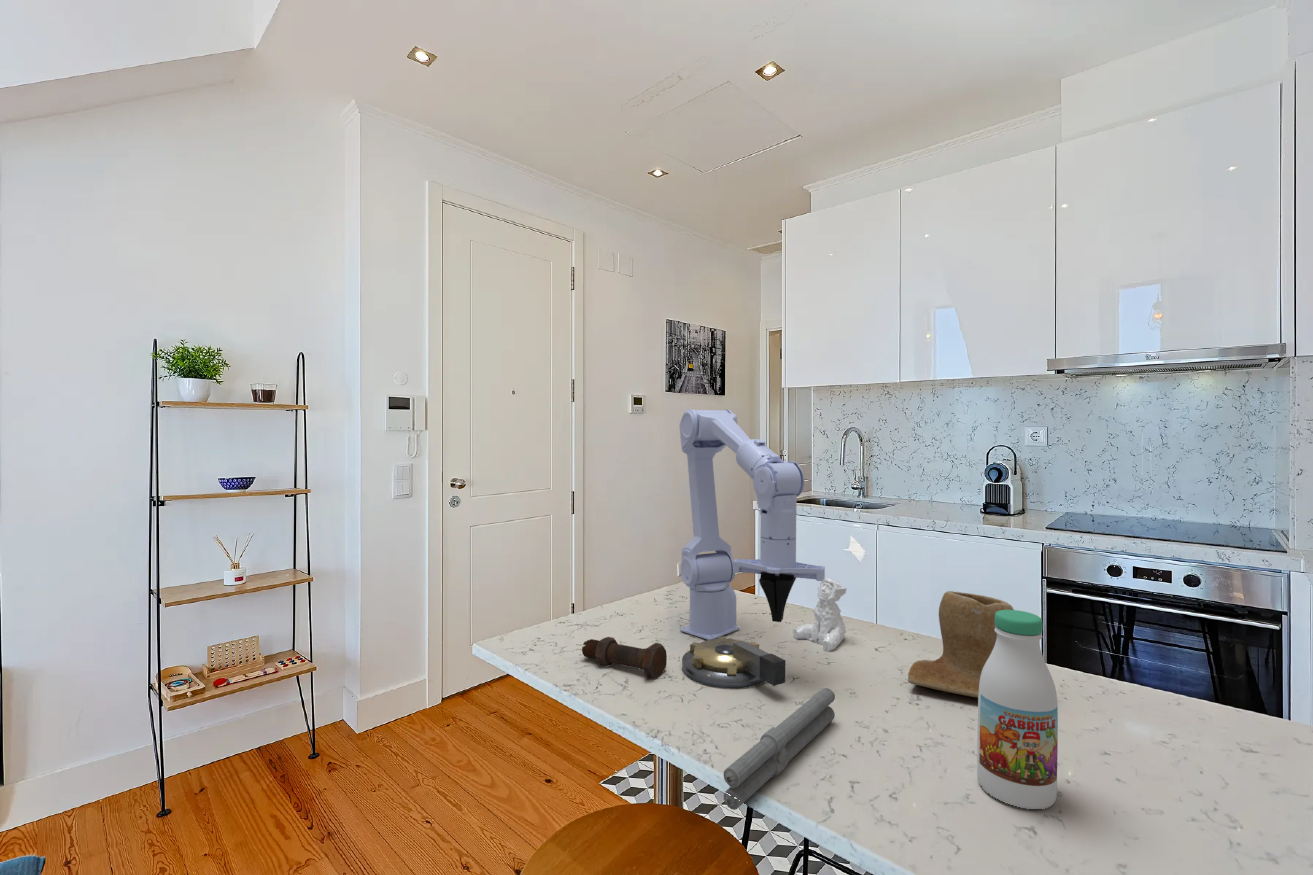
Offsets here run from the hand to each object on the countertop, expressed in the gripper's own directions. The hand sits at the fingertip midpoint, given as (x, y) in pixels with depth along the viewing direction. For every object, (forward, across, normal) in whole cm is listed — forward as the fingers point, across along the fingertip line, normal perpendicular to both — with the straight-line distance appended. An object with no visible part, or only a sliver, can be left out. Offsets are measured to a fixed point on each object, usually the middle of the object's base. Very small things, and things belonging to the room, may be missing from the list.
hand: (777, 619), depth 98 cm
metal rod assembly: (+10, +6, -24) cm, 26 cm away
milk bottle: (+10, +31, -20) cm, 38 cm away
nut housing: (+9, -8, 0) cm, 13 cm away
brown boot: (+10, +28, +7) cm, 30 cm away
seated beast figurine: (+10, +5, +20) cm, 23 cm away
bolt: (+10, -25, -6) cm, 28 cm away
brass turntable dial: (+8, -6, -2) cm, 10 cm away
